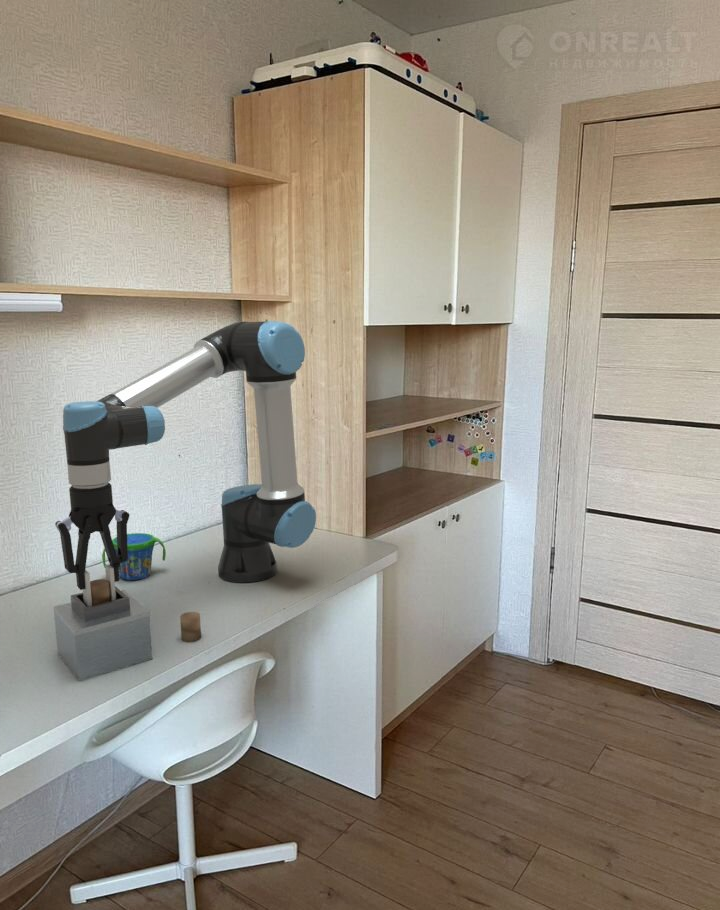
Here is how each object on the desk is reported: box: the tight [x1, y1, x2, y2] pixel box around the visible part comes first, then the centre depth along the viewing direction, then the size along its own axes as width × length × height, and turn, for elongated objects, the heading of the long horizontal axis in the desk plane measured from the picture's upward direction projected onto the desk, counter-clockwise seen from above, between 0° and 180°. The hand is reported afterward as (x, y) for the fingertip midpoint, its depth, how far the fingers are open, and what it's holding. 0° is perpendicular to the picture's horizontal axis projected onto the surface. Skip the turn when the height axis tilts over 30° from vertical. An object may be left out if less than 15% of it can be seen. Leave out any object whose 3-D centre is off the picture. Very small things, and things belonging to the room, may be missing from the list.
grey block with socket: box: [53, 585, 153, 682], centre depth 140 cm, size 14×14×12 cm
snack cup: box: [101, 532, 167, 581], centre depth 184 cm, size 16×10×10 cm
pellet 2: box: [179, 611, 202, 643], centre depth 149 cm, size 4×4×5 cm
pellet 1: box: [90, 578, 111, 606], centre depth 139 cm, size 4×4×5 cm
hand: (100, 600), depth 139 cm, fingers closed on pellet 1, 4 cm apart
